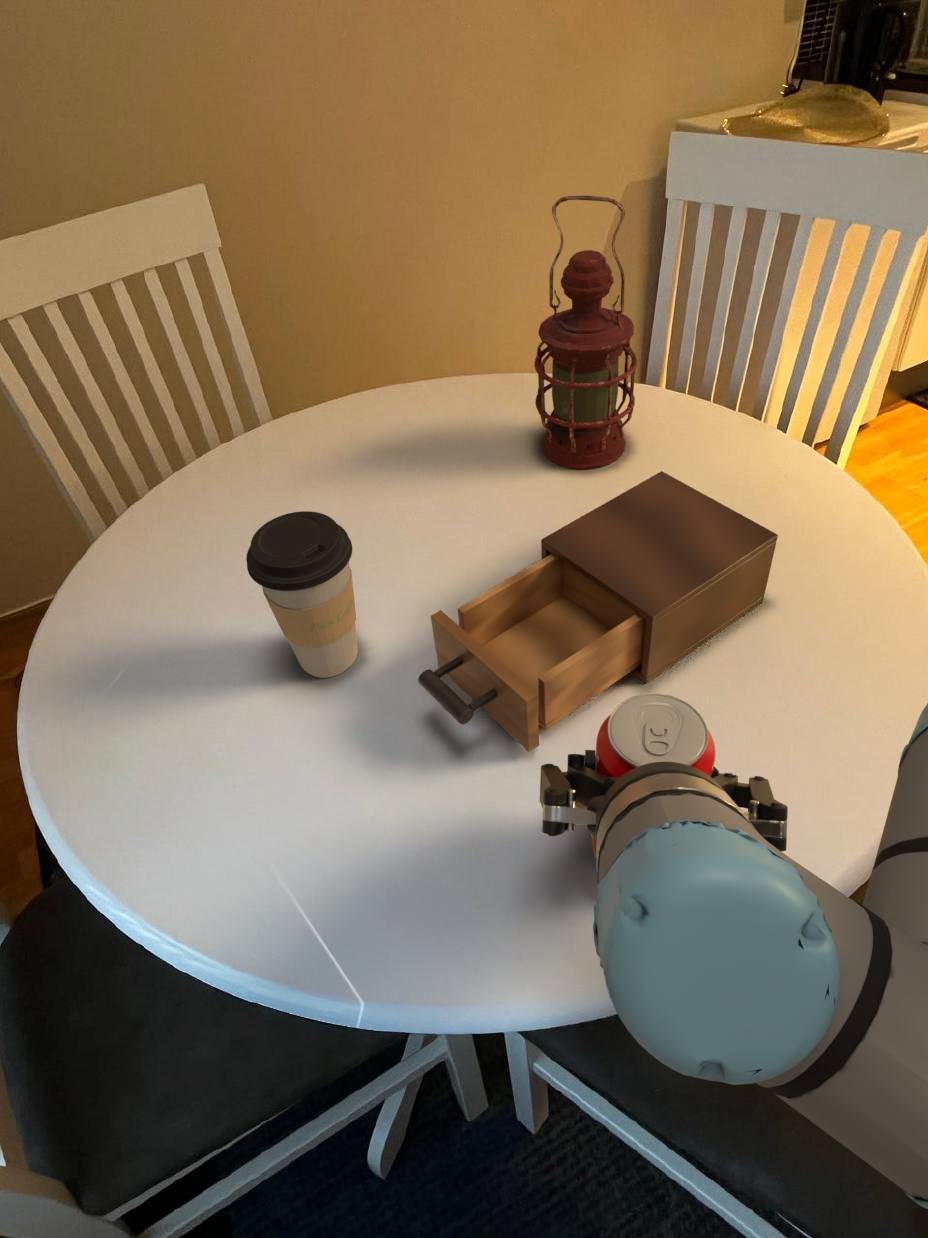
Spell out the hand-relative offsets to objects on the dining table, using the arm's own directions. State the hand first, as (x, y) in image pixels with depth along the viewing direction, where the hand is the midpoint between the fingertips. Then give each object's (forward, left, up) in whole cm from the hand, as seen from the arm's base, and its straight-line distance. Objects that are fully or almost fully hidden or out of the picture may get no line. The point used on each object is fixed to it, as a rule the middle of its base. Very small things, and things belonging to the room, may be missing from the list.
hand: (644, 771), depth 64 cm
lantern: (+43, -34, -6) cm, 55 cm away
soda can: (-2, +2, -6) cm, 7 cm away
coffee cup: (+33, +10, -6) cm, 35 cm away
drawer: (+17, -2, -5) cm, 17 cm away
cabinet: (+17, -19, -6) cm, 26 cm away
